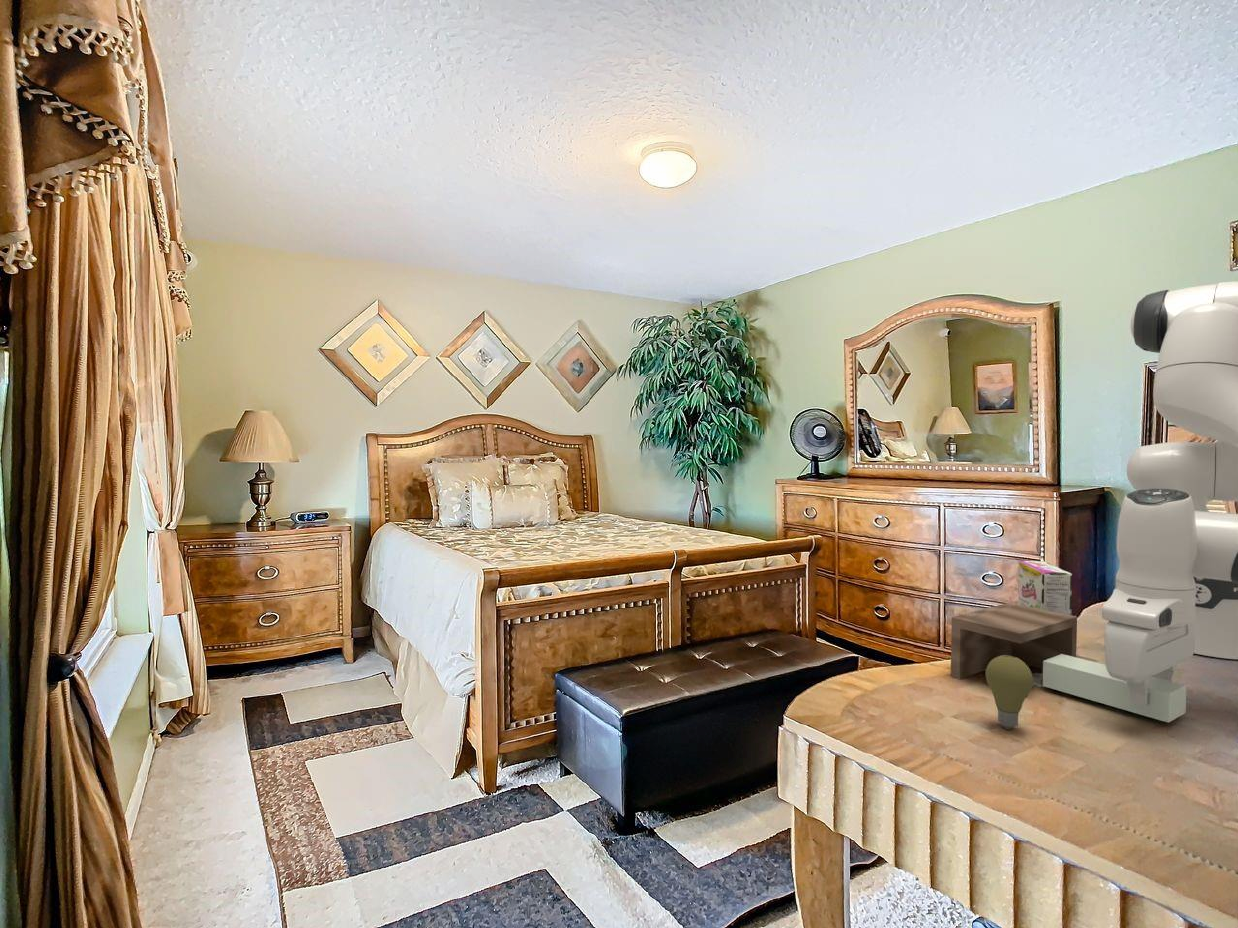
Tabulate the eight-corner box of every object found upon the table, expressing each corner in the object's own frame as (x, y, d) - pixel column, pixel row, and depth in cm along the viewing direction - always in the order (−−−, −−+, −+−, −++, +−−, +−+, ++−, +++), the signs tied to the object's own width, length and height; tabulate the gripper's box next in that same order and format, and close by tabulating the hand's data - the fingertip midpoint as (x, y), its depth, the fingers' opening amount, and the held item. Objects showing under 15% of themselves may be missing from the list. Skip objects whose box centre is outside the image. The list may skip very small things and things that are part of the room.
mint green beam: (1061, 678, 106) (1061, 653, 106) (1185, 712, 93) (1186, 684, 93) (1042, 685, 103) (1043, 660, 103) (1168, 722, 90) (1169, 693, 89)
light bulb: (1010, 717, 93) (1011, 648, 93) (1041, 735, 88) (1043, 661, 87) (975, 720, 92) (976, 650, 92) (1005, 738, 87) (1006, 664, 86)
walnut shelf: (1008, 656, 119) (1009, 602, 119) (1075, 675, 110) (1077, 616, 109) (950, 676, 110) (951, 617, 109) (1019, 698, 100) (1020, 633, 100)
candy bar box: (1015, 643, 127) (1017, 559, 126) (1044, 645, 126) (1046, 560, 125) (1040, 663, 116) (1042, 571, 115) (1071, 665, 115) (1074, 572, 114)
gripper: (1157, 589, 101) (1154, 677, 102) (1095, 608, 90) (1093, 707, 91) (1210, 597, 96) (1206, 690, 96) (1151, 619, 85) (1148, 723, 86)
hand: (1151, 698), depth 94 cm, fingers closed on mint green beam, 6 cm apart
